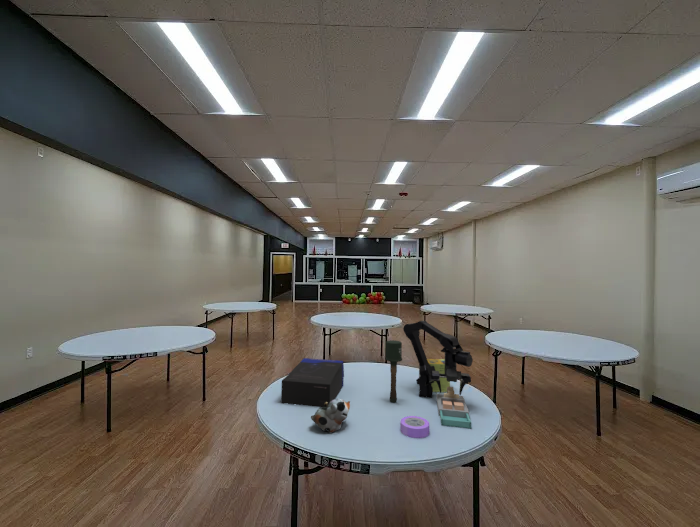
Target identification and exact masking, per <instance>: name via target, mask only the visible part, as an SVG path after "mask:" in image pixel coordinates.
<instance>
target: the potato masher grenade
mask: <svg viewBox="0 0 700 527" xmlns="http://www.w3.org/2000/svg"><path fill="white" fill-rule="evenodd" d="M402 344H403V342H402V341H400V340H395V339H393V340H392V339H391V340H386V342H385V361H388V362H389V363H390V364H389V365H390V391H389V402H390V403H392V404H395V403H397V400H398V397H397V394H398V393H397V372H398V362H399V363H400V362H402V361H403V358H402V352H403V351H402V350H403V349H402V347H403V345H402Z"/></svg>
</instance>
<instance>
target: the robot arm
mask: <svg viewBox="0 0 700 527" xmlns="http://www.w3.org/2000/svg"><path fill="white" fill-rule="evenodd" d="M402 329H403V332H404V335H405V337H406V338H408V340H410V343H411V346H412V348H413V351H414V353H415V357H416V359H417V362H418V366H419V365H420V372H419V371H418V374H419V373H420V377H419V376H418V377H417V379H416V384H417V385H418V386H419V389H418V391H419V392H418V397H420V398H429V399H430V398H431V399H433V395H434V392H433V387H432V385H431V384H432V383H434V381H436V382H437V384H438V387H439V390H440V392H439V394H442V392H441V384H440V377H441V378H446V380H447V381H448V382H450V383H451V382H453V383H457V382H458V380H459V381H460V382H459V391H458V392H459V396H462V395H461V394H462V392H463V390H464V387H465V386H466V385H468V384H469V383H472V377H471V375H470V374H469V373H463V372H462V371H460V370H459V371H457V365H459V366H464V367H467V368H470V367H471V366H472V365H473V360H474V359H473V357H472V355H471V352H470V351H464V349H463V347H462V345H461V344H460V342H459V339H458V338H457V337H456V336H454V335H452V334H448V333H446V332H445V333H444V332H443V331H441V330H440V329H438V328H437V327H435V326H434V325H432V324H431V323H429V322H428V321H426V320H419V321H416V322H413V323H412V322H411V323H406V324H404V325H403V328H402ZM421 330H422V331H424V332H425V333H427V334H428V335H430V336H432V337H433V338H434V339H435V340H437V341H438V342H439V344H440V345H441V346H442V347H443V348H442V349H441V350H440V352H441V353H444V359H445V373H444V374H441V373H439V371H435V367H434V366H431V365H430V364H429V363H428V360H427V359H428V358H427V356H426V352H425V350H424V347H423V345H422V342H421V339H420V331H421Z"/></svg>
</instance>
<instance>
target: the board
mask: <svg viewBox="0 0 700 527" xmlns="http://www.w3.org/2000/svg"><path fill="white" fill-rule="evenodd" d="M435 393H436V405H437V412H438V417H440V411H442V415H443V416H450V417H459V418H466V413H468V415H469V416H470V412H469V408H468V406H467V404H466V401H465V398H464V396H463V395H459V399H463V400H464V411H462V410H455V409H454V406H453V405H452V409H443V404H441V397H444V393H438V392H435Z"/></svg>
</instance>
